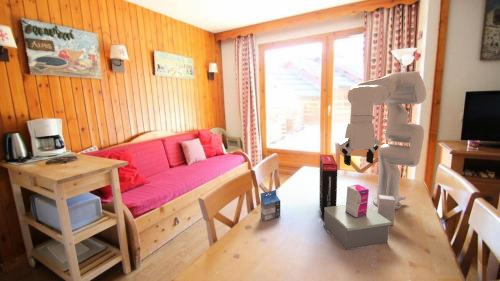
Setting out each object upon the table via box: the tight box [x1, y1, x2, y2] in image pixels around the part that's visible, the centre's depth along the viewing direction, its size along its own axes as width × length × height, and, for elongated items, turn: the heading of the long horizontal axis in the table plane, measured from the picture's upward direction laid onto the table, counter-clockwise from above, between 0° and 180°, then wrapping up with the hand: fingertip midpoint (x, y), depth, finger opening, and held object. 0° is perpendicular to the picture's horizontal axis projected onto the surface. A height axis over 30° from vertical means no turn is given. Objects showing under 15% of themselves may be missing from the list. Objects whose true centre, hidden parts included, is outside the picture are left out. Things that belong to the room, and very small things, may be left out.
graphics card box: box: [319, 153, 338, 221], centre depth 115 cm, size 17×7×27 cm, turn 168°
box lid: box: [324, 204, 392, 231], centre depth 97 cm, size 18×17×1 cm
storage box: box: [323, 211, 390, 251], centre depth 97 cm, size 18×16×8 cm
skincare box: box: [376, 195, 396, 226], centre depth 106 cm, size 6×4×12 cm
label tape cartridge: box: [260, 189, 281, 222], centre depth 112 cm, size 9×4×12 cm, turn 117°
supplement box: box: [345, 184, 370, 218], centre depth 96 cm, size 6×6×12 cm
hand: (358, 163), depth 93 cm, fingers open, 9 cm apart
